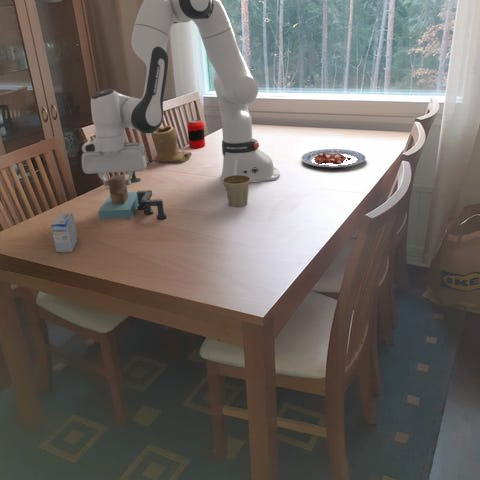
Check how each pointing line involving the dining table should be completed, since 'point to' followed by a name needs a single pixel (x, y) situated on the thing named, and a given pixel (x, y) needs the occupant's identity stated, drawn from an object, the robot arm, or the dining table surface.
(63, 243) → the medicine box
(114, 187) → the walnut block
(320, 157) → the ceramic plate
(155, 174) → the dining table surface
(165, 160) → the tan hollow bent piece
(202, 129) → the soda can
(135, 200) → the platform
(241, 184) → the flower pot
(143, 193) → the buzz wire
